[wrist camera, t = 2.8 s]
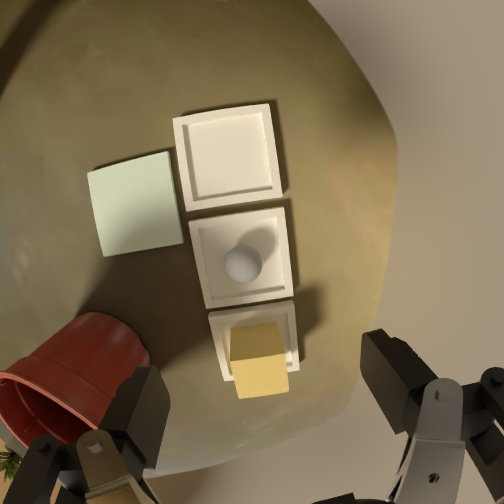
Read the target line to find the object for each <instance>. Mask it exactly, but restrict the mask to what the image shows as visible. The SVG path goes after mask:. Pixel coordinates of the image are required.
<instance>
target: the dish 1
mask: <svg viewBox="0 0 504 504" xmlns="http://www.w3.org/2000/svg"><path fill="white" fill-rule="evenodd" d="M173 126H174V134H175V141H176V149H177V156H178V163H179V170H180V176H181V183H182V189H183V195H184V201H185V207H186V212H187V211H193V210H198V209H204V208H210V207H216V206H223V205H229V204H235V203H242V202H249V201H256V200H263V199H270V198H278V197H283V196H282V189H281V181H280V174H279V167H278V160H277V153H276V146H275V139H274V133H273V126H272V120H271V114H270V107H269V104H259V105H250V106H242V107H235V108H228V109H221V110H215V111H209V112H203V113H198V114H193V115H188V116H183V117H178V118H174V119H173Z"/></svg>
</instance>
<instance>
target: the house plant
mask: <svg viewBox="0 0 504 504" xmlns="http://www.w3.org/2000/svg"><path fill="white" fill-rule="evenodd" d="M5 448H6V450H7V451H8V452H0V455H3V456H7V457H1V456H0V459H7V460H4V461H2V460H0V471H3V470H5V469H6V468H7V469H6V471H5V478H4V482H5V481H6V478H7V476H8V477H9V479H10V482H11V483H12V481H13V478H14V475H15V474H16V472H17V470H18V468H19V466H20V463H19V461H20V462H22V460H23V458H24V456H25V454H26V452H27V450H28V448H27V447H26V446H24V445H23V444H22V443H21V442H20V441H19V440H18V439H17V438H16V437H15V436H14V437H13V438H12V439H11V440H10V441H9V442H8V443H7V444H6V445H5ZM9 455H10V456H9Z"/></svg>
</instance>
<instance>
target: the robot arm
mask: <svg viewBox="0 0 504 504" xmlns="http://www.w3.org/2000/svg"><path fill="white" fill-rule="evenodd" d="M360 369H361V373H362V376H363V378H364V380H365V382H366V384H367V385H368V387H369V389H370V391H371V392H372V394H373V396H374V397H375V399H376V401H377V403H378V404H379V406H380V408H381V409H382V411H383V413H384V415H385V417H386V418H387V420H388V422H389V424H390V425H391V427H392V429H393V431H394V432H395V434H399V433H401V432H404V431H406V432H407V434H408V435H409V436H408V438H407V442H406V445H405V448H404V451H403V454H402V457H401V461H400V464H399V466H398V469H397V472H396V475H395V478H394V480H393V482H392V485H391V487H390V489H389V491H388V493H387V495H386V497H385V500H384V501H383V500H377V499H355V498H354V495H353V493H349V494H345V495H342V496H338V497H335V498H331V499H327V500H322V501H318V502H315V503H312V504H455V501H456V497H457V493H458V489H459V484H460V479H461V473H462V468H463V461H464V454H465V449H466V450H467V452H468V454H469V455H470V457H471V459H472V460H473V462H474V464H475V466H476V467H477V469H478V471H479V472H480V474H481V476H482V478H483V480H484V482H485V483H486V485H487V487H488V489H489V491H490V493H491V495H492V497H493V498H494V500H495V502H496V504H504V436H503V434H502V433H501V432H500V430H499V429H498V427H497V426H496V425H495V423H494V420H495V419H496V421H497V422H498V423H499V425H500V426H501V427H502V428H503V430H504V369H503V368H499V367H493V368H489V369H487V370H486V371H485V372H484V373H483V374H482V376H481V380H480V382H477V383H472V384H468V385H463V386H460V385H459V384H458V383H457V382H456V381H454V380H452V379H448V378H438V377H437V376H436V375H435V374H434V372H432V370H431V369H430V368H429V367H428V366H427V365H426V363H424V361H423V360H422V359H421V358H420V357H418V355H417V354H416V353H415V352H414V351H413V350H412V348H411V347H410V346H409V345H408V344H407V343H406V342H405V341H402V340H400V339H398V338H396V337H393V338H390V337H389V336H388V335H387V333H386V332H385V331H384V330H383V329H381V328H380V329H377V330H373V331H370V332H366V333H363V335H362V342H361V359H360ZM169 409H170V396H169V393H168V390H167V388H166V386H165V384H164V381H163V379H162V377H161V374H160V372H159V369H158V368H157V366H156V365H142V366H136V368H135V370H134V372H133V374H132V376H131V378H126V379H125V380H124V381H123V382H122V383H121V384H120V385H119V386H118V388H117V390H116V392H115V394H114V396H113V398H112V400H111V404H109V406H108V408H107V410H106V412H105V414H104V416H103V419H102V421H101V423H100V425H99V427H98V429H95V430H90V431H88V432H86V433H84V434H83V435H82V436H81V437H80V438H79V439H78V441H77V443H65V444H61V443H60V442H59V441H58V440H57V439H56V437H55V436H53V435H51V434H42V435H40V436H38V437H36V438H35V439H34V440H33V441H32V443H31V444H30V446H29V448H28V450H27V452H26V454H25V456H24V458H23V460H22V462H21V464H20V466H19V468H18V470H17V472H16V474H15V476H14V478H13V481H12V483H11V485H10V487H9V490H8V492H7V494H6V497H5V499H4V501H3V504H50V497H51V494H52V491H53V489H54V486H55V483H56V481H57V482H58V483H60V484H61V488H60V490H59V493H58V496H57V499H56V502H55V504H161V502H160V501H159V499H158V498H157V497H156V495H155V494H154V492H153V490H152V489H151V487H150V486H149V484H148V483H147V481H146V479H145V478H144V477H143V475H142V474H143V470H144V469H154V470H155V467H156V463H157V458H158V454H159V450H160V446H161V441H162V437H163V433H164V429H165V425H166V421H167V417H168V413H169Z"/></svg>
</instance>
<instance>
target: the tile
mask: <svg viewBox="0 0 504 504" xmlns="http://www.w3.org/2000/svg"><path fill="white" fill-rule="evenodd" d="M87 174H88V181H89V188H90V194H91V200H92V206H93V211H94V216H95V221H96V226H97V231H98V235H99V240H100V244H101V248H102V252H103V256H104V257H106V256H112V255H117V254H123V253H129V252H134V251H140V250H146V249H152V248H158V247H164V246H170V245H176V244H182V243H183V242H184V238H183V232H182V227H181V222H180V216H179V211H178V205H177V199H176V193H175V187H174V181H173V175H172V168H171V161H170V154H169V152H168V151H166V152H162V153H158V154H153V155H149V156H145V157H141V158H137V159H133V160H130V161H126V162H122V163H119V164H115V165H112V166H108V167H105V168H102V169H98V170H95V171H92V172H89V173H87Z"/></svg>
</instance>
